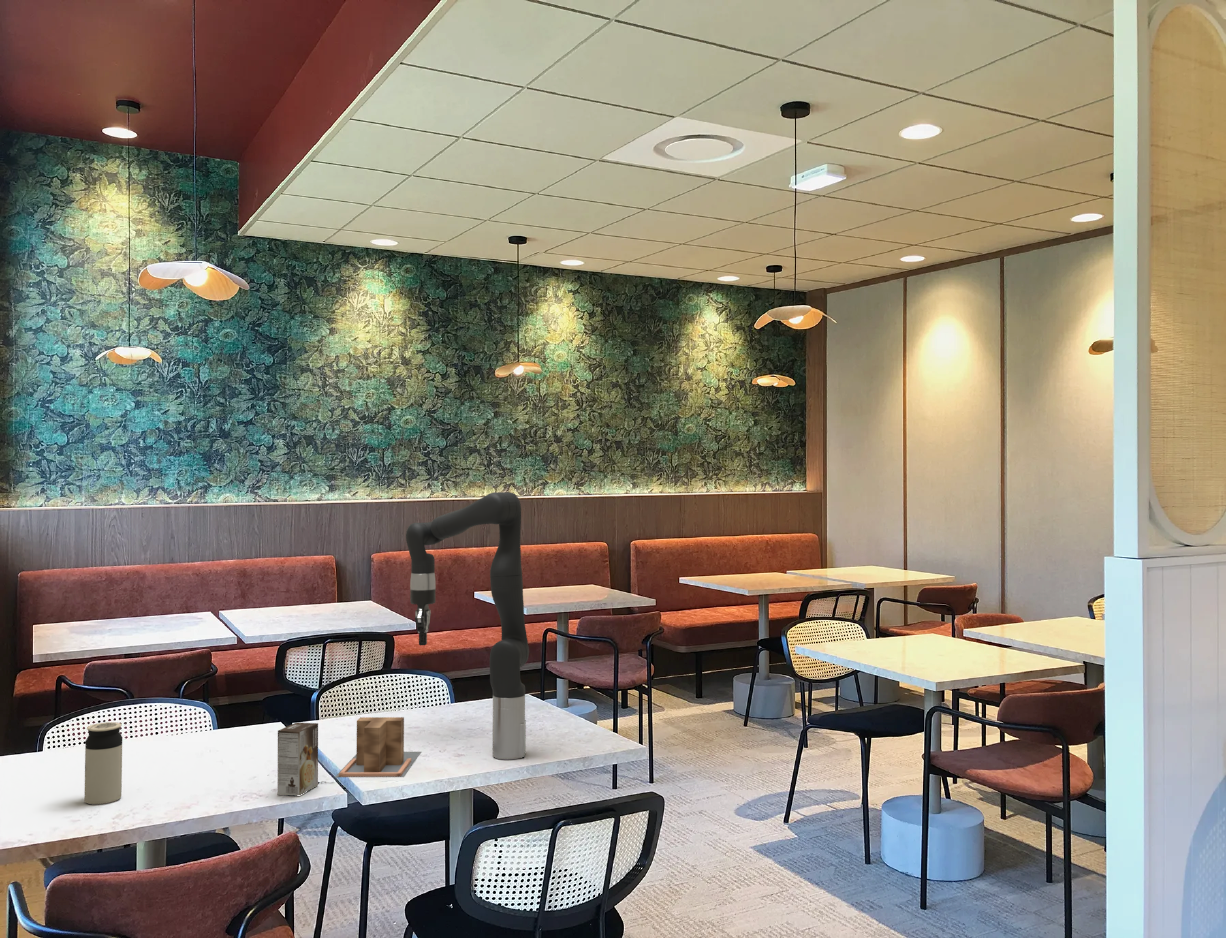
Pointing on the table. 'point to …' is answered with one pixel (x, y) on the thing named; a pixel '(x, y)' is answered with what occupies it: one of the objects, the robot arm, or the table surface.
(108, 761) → the travel mug
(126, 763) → the table surface
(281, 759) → the coffee box
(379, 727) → the t block
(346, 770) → the board
